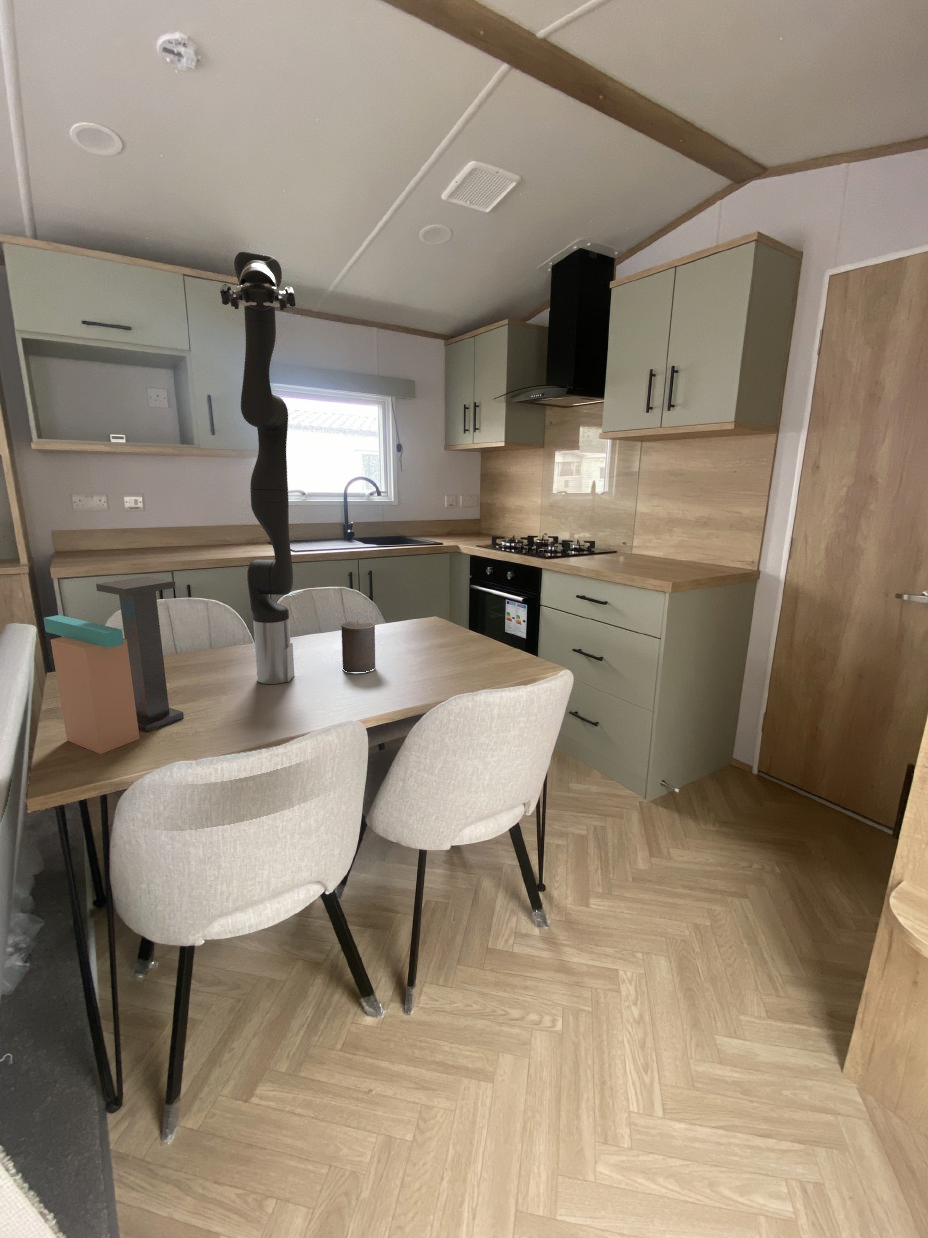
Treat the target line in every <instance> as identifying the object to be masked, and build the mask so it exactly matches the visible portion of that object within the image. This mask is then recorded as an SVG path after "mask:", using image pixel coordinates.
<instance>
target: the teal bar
mask: <svg viewBox="0 0 928 1238" xmlns="http://www.w3.org/2000/svg"><path fill="white" fill-rule="evenodd" d="M43 624H44V629H45V632H46V633H48V634H54V635H57V636H60V637H68V638H72V639H75V640H79V641H83V642H87V643H91V644H95V645H99V646H102V647H106V648H110V647H115V646H119V645H123V644H124V642H123V638H124V636H123V635H124V633H123V629H122V628H117V627H113V626H109V625H103V624H99V623H94V622H91V621H86V620H83V619H79V618H73V617H69V616H65V615H60V614H59V615H58V614H57V615H52V616H47V617H46V616H45V617H43Z"/></svg>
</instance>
